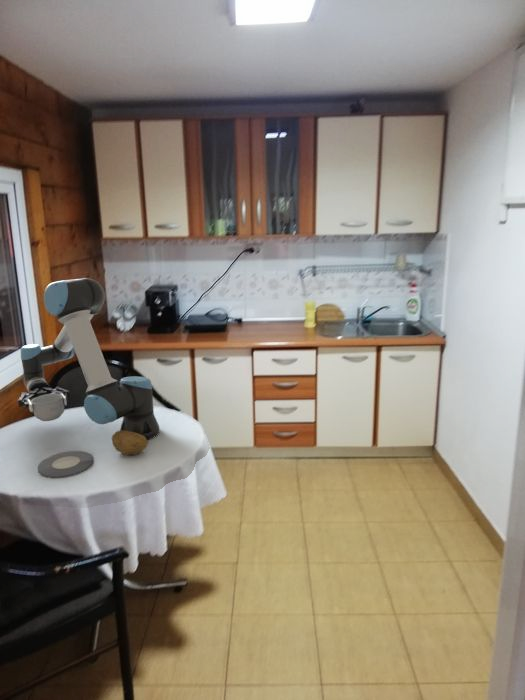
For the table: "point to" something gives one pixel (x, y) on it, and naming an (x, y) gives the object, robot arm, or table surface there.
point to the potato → (129, 442)
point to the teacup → (48, 406)
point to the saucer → (65, 464)
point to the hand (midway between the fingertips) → (48, 404)
